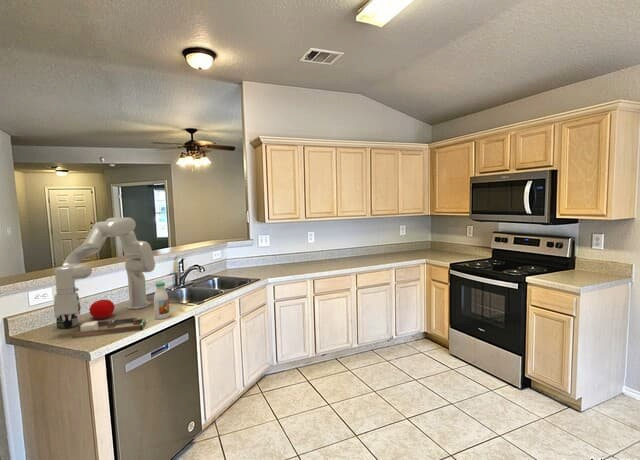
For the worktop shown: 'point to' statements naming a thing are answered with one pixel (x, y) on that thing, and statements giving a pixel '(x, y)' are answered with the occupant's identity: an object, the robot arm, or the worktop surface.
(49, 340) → the worktop surface
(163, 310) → the milk bottle
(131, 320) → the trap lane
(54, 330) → the worktop surface
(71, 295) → the robot arm
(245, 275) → the worktop surface
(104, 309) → the tomato
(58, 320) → the coffee jar
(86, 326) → the block
